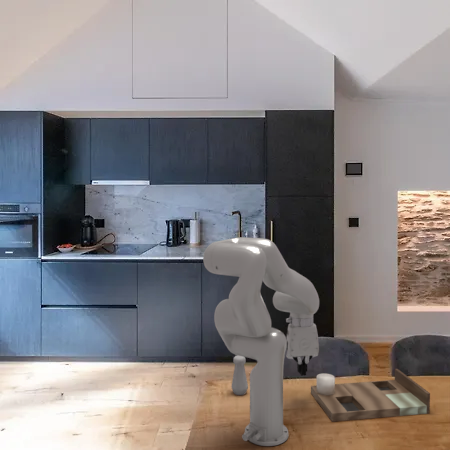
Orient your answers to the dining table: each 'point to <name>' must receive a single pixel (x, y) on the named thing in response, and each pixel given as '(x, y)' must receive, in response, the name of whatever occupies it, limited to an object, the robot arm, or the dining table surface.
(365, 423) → the dining table surface
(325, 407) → the board
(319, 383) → the white cup
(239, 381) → the salt shaker
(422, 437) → the dining table surface
